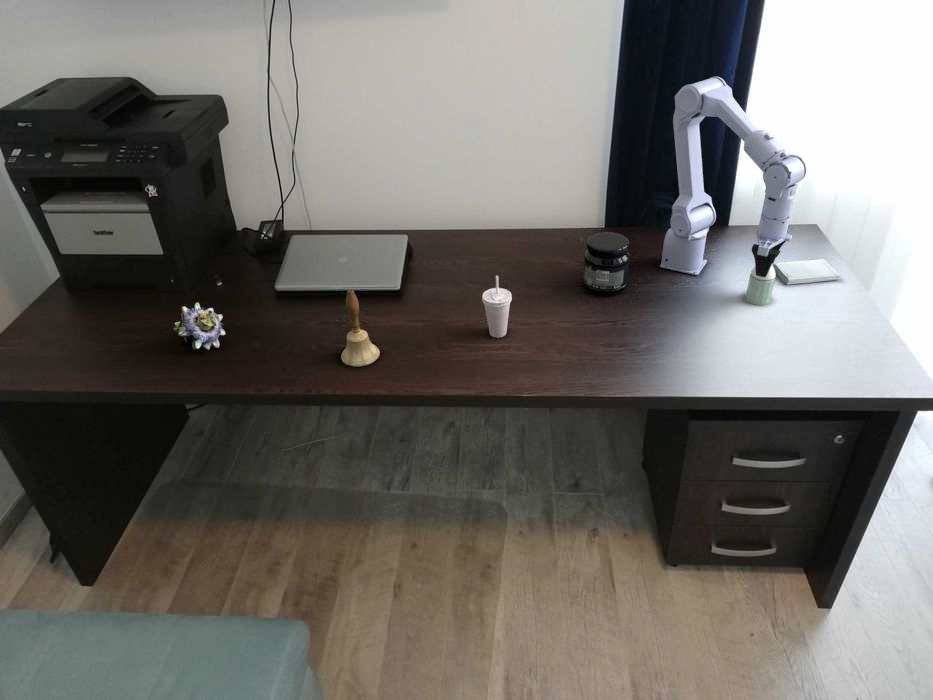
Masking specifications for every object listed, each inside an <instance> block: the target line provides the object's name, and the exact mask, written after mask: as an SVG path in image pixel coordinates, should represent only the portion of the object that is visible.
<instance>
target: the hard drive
mask: <svg viewBox="0 0 933 700" xmlns="http://www.w3.org/2000/svg"><path fill="white" fill-rule="evenodd" d="M773 268H774V270H775V273H776V275H777V276H778V277H779V278H780V279H781V281H783V282H784V284H786V285H797V284H808V283H819V282H828V281H839V280H840V277H841V274H840V273H839V272H838V271H837V270H836V269H835V268H834V267H833V266H831V265H830V264H829V262H827V261H826V260H825V259H824V258H820V259H810V260H797V261H787V262H786V261H785V262H774V263H773Z"/></svg>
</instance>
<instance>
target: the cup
mask: <svg viewBox="0 0 933 700" xmlns="http://www.w3.org/2000/svg"><path fill="white" fill-rule="evenodd" d="M775 281H776V276H775V277H774V278H773V279H770V280H760V279H757V278H755V277H753V276H752V274H751V273H750V274H749V278H748V281H747V282H748V283H747V287H746V293H745V300H746V301H747V302H748V303H750V304H752V305H756V306H764V305H768V304H769V303H770V302H771V298H772V294H773V289H774V286H775Z"/></svg>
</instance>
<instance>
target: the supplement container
mask: <svg viewBox="0 0 933 700" xmlns="http://www.w3.org/2000/svg"><path fill="white" fill-rule="evenodd" d="M629 249H630V241H629V239H628V238H627V237H626V235H625V236H624V235H623V234H621V233H617V232H612V231H603V232H597V233H594V234H592V235H590V236H589V237H588V238H587V240H586V249H585V251H584V253H583V259H584V261H583V265H584V267H583V278H582V283H583V286H584V288H585V289H586V290H587V291H589V292H590V293H592V294H595V295H599V296H615V295H617V294H620V293H622V292H624V291H625V290H626V288H627V286H628V282H629V281H628V279H629V269H630V268H629V267H630V259H631V253H630V251H629Z"/></svg>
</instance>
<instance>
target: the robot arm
mask: <svg viewBox="0 0 933 700" xmlns="http://www.w3.org/2000/svg"><path fill="white" fill-rule="evenodd" d="M674 106H675V109H674V113H673V117H672V124H673V133H674V134H673V135H674V148H675V157H676V159H675V160H676V169H677V181H678V193H679V195H678V197H677V199H676V200H675V202H674V203H673V204H672V206H671V217H670V220H669V221H670V222H669V224H670V228H668V229H667V231H666V234H665V236H664V239H663V247H662V252H661V253H662V254H661V262H660V264H659V268H662V269H666V270H671V271H674V272H680V273H684V274H689V275H693V276H699V275H700V273H701V272H702V270H703V269H704V268H705V266H706V264H707V263H708V260H707V259H705V258H704V255H705V248H706V243H707V242H706V241H707V237H708V236H707V234H708V232H709V231H710V227H711V226H713V225H714V224H715V222H716V219H717V213H716V209H715V207H714V205H713V200H712V199H713V198H712V196H710V195H709V194H707V193H706V192H705V187H704V186H705V185H704V174H703V171H704V170H703V158H702V147H701V145H702V144H701V132H700V123H701V122H702V121H703V120H704V119H705V118H706V117H711V118H712V117H713V118H714V117H715V118H718V119H720V120H721V121H722V122H723V123H724V124H725V125H726V126H727V127H729V129H730V130H731V131H733V133H734V134H735V135H737V136H738V137H739V138H740V140H742V141H743V151H744V152H745V154H746V155H747V156H748V157H749V158H750V160H752V162H753V163H754V164H755V165H756V166H757V167H758V168H759V169H760V171H761V172H762V180H763V183H764V185H765V189H764V193H765V194H764V199H763V204H762V208H761V214H760V217H759V218H760V219H759V224H758V229H757V230H756V233H755V235H756V239H757V243H758V244H756V243H753V245H752V247H751V253H752V255H753V258H754V267H755V270H756V276H761V277H766V276H767V274H768V272H769V270H770V267H771V265H773V263H775V261H776V259H777V257H779V255H780V253H781V248H782V247H783V245H784V244H785V243H786V242H791V240H792V238H793V235H792V234H789V233H788V229H789V223H790V219H791V215H792V211H793V207H794V202H795V198H796V195H797V194H796V193H797V189H798V183H799V182H801V181H803V180H804V178H806V177H805V176H806V175H807V166H806V162H805V161H804V160H803V158H802V157H801V156H800V155H798V154H792V153H791V152H788V150H786V149H785V148H784V147H783V146H782V145H781V144H780V143H779V141H778V140H776V138H775V136H776V135H774V133H773V132H772V131H770V132H769V131H768V130H767V129H758V127H757V126H756V125H755V123H754V122H753V121H752V120H751V118H750V117H749V116H748V114H747V113H746V112H745V111H744V109H743V108H742V107H741V106H740V104H739V103H738V102H737V100H736V99H735V98H734V96H733V89H732V88H731V86H729V85H728V84H727V83H726V81H725V80H724V79H723V78H722V77H720V76H711V77H709V78H708V79H704V80H701V81H698V82H697V81H696V82H695V83H691V84H685V85H684V86H682V87H681V88H680V90H678V92H677V93H676V94H675V95H674Z"/></svg>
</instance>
